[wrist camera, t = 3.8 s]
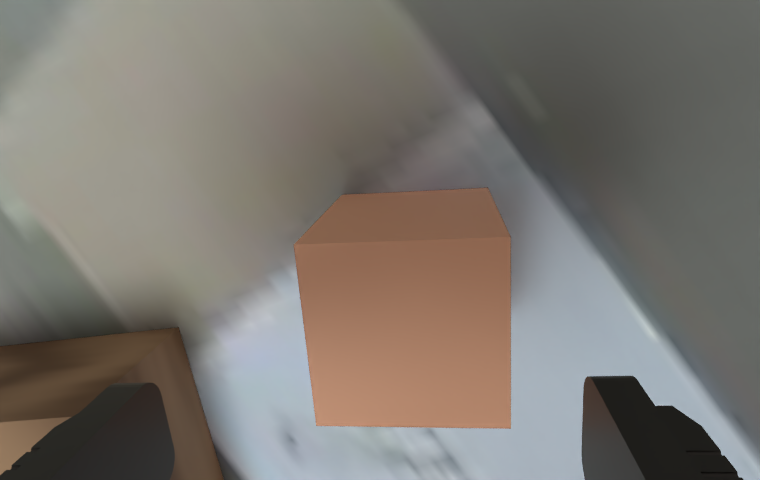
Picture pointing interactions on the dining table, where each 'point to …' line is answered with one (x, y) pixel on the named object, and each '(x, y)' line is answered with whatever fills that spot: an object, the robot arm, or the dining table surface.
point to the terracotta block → (408, 310)
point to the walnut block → (91, 377)
